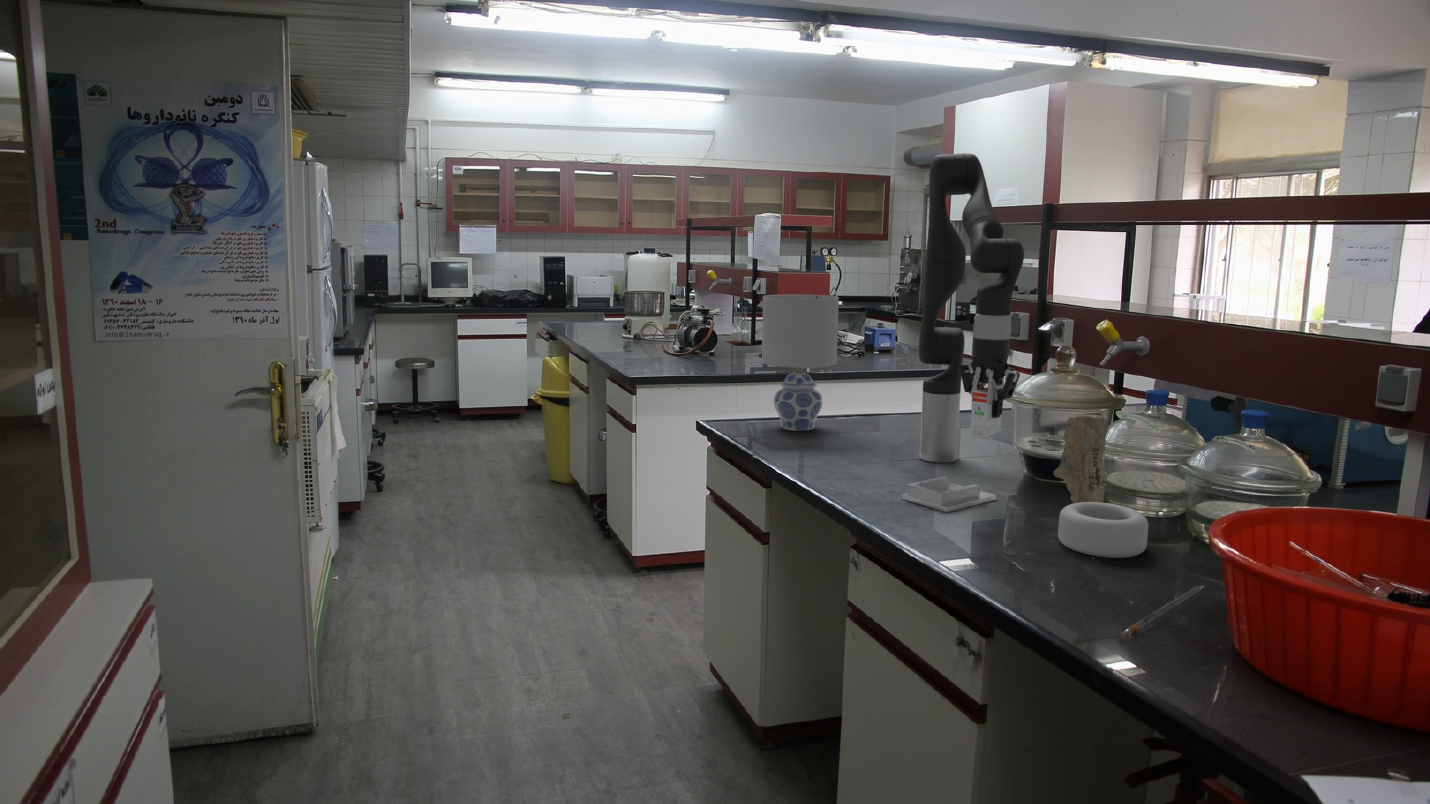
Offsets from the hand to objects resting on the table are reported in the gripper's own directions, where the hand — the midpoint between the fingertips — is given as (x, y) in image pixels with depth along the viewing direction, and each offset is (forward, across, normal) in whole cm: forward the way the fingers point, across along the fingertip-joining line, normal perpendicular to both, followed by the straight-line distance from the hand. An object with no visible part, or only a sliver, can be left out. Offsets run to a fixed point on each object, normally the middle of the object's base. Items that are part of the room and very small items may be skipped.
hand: (986, 415), depth 200 cm
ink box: (+5, 0, 0) cm, 5 cm away
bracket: (+18, +2, +8) cm, 20 cm away
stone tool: (+18, -18, -9) cm, 27 cm away
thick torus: (+17, -34, +9) cm, 39 cm away
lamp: (+21, +77, -16) cm, 82 cm away
